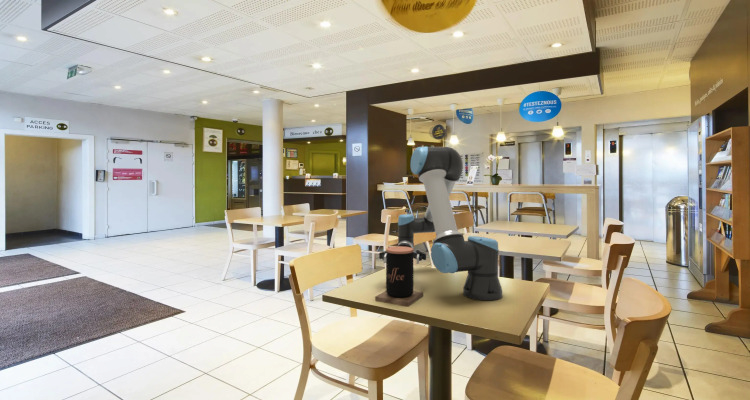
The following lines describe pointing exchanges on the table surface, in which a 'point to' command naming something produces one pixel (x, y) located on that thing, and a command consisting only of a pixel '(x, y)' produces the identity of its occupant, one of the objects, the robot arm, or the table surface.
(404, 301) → the walnut board
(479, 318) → the table surface
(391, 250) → the coffee jar
